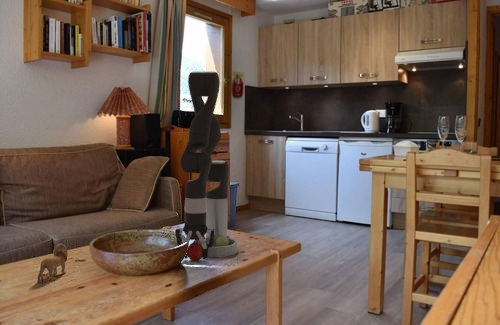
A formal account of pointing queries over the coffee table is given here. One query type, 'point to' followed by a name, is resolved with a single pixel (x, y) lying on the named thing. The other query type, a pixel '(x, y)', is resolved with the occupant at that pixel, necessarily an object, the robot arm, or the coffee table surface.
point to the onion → (195, 251)
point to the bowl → (221, 248)
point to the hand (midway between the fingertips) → (195, 258)
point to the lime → (222, 241)
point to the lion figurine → (54, 262)
